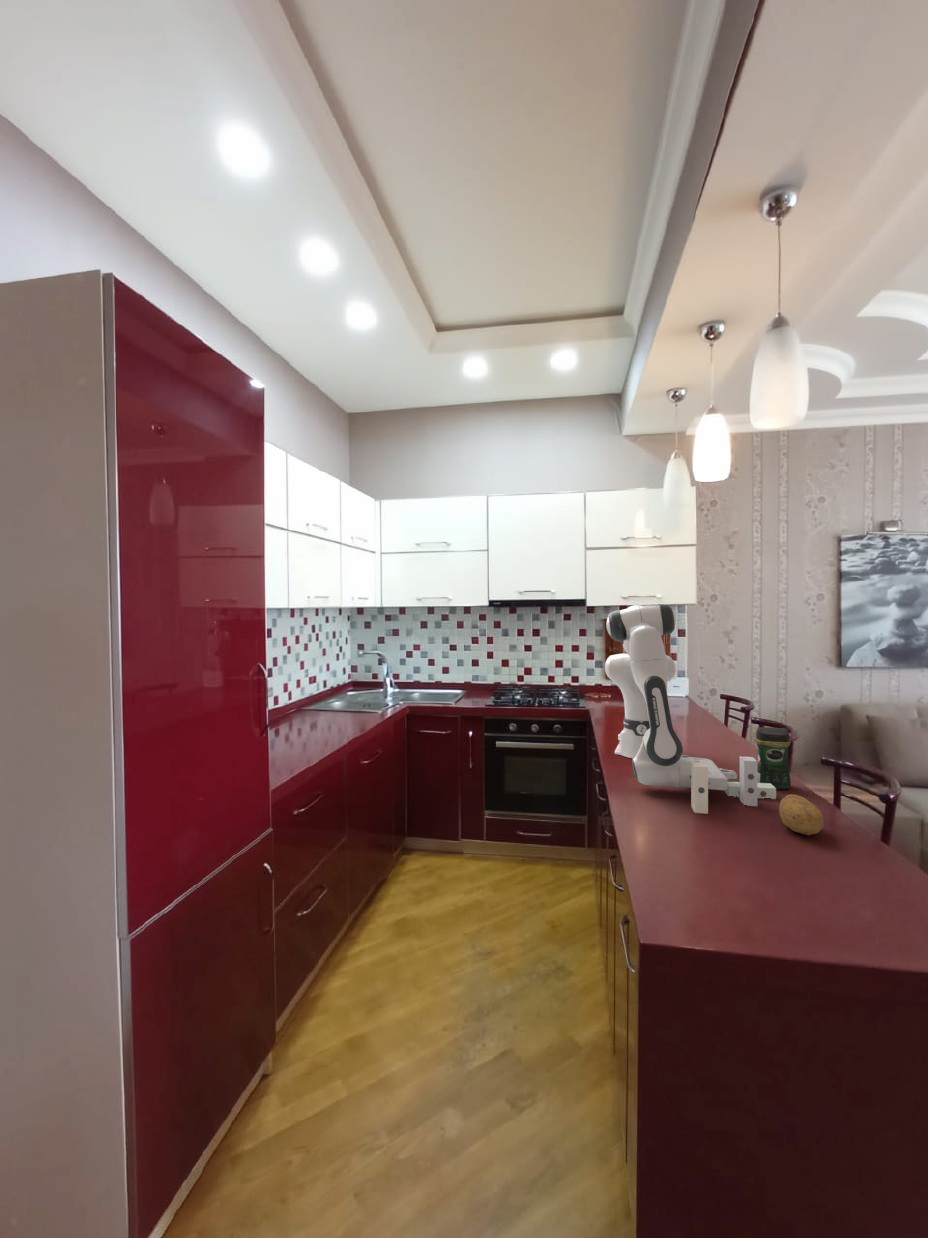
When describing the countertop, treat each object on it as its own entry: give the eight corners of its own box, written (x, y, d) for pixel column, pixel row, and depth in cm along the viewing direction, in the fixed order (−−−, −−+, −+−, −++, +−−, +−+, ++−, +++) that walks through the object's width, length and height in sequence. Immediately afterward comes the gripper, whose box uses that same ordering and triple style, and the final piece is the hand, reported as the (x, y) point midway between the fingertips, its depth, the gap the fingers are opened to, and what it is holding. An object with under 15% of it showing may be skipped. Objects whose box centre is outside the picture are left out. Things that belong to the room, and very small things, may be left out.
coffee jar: (787, 783, 175) (787, 726, 174) (793, 791, 167) (793, 731, 167) (753, 780, 178) (753, 724, 178) (757, 788, 171) (757, 729, 170)
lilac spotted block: (739, 800, 161) (739, 756, 161) (752, 800, 160) (752, 756, 160) (744, 805, 156) (744, 761, 156) (757, 806, 156) (757, 761, 155)
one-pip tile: (691, 807, 156) (691, 762, 156) (704, 807, 156) (704, 762, 155) (694, 813, 152) (694, 766, 151) (708, 814, 151) (708, 767, 151)
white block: (724, 781, 168) (770, 783, 166) (724, 792, 168) (770, 794, 166) (729, 786, 164) (776, 788, 161) (729, 798, 164) (776, 800, 161)
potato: (789, 842, 133) (789, 809, 133) (771, 819, 146) (771, 790, 146) (834, 845, 130) (834, 812, 130) (812, 822, 144) (812, 792, 144)
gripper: (694, 772, 158) (746, 775, 155) (681, 753, 178) (726, 755, 175) (694, 794, 158) (746, 797, 155) (681, 772, 178) (726, 774, 175)
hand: (735, 774), depth 165 cm, fingers closed
